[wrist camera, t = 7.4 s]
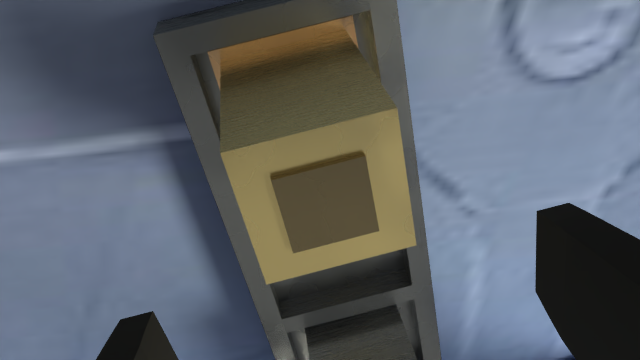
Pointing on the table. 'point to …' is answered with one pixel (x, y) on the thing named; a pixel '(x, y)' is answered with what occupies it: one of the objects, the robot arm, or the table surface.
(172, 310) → the table surface
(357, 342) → the square block
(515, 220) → the table surface
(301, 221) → the tan hollow block
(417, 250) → the rail
